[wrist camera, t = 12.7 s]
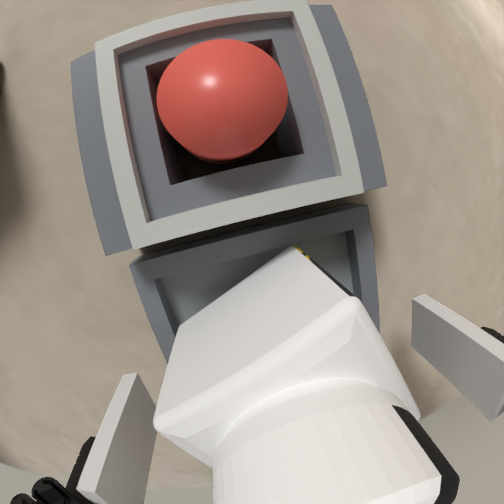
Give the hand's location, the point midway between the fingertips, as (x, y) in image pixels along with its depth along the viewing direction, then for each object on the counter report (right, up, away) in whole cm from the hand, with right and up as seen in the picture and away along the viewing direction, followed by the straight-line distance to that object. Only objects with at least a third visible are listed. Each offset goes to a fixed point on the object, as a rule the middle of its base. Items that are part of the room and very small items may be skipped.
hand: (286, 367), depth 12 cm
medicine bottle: (0, +1, +3) cm, 3 cm away
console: (-2, +6, +3) cm, 7 cm away
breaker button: (-3, +11, 0) cm, 11 cm away
